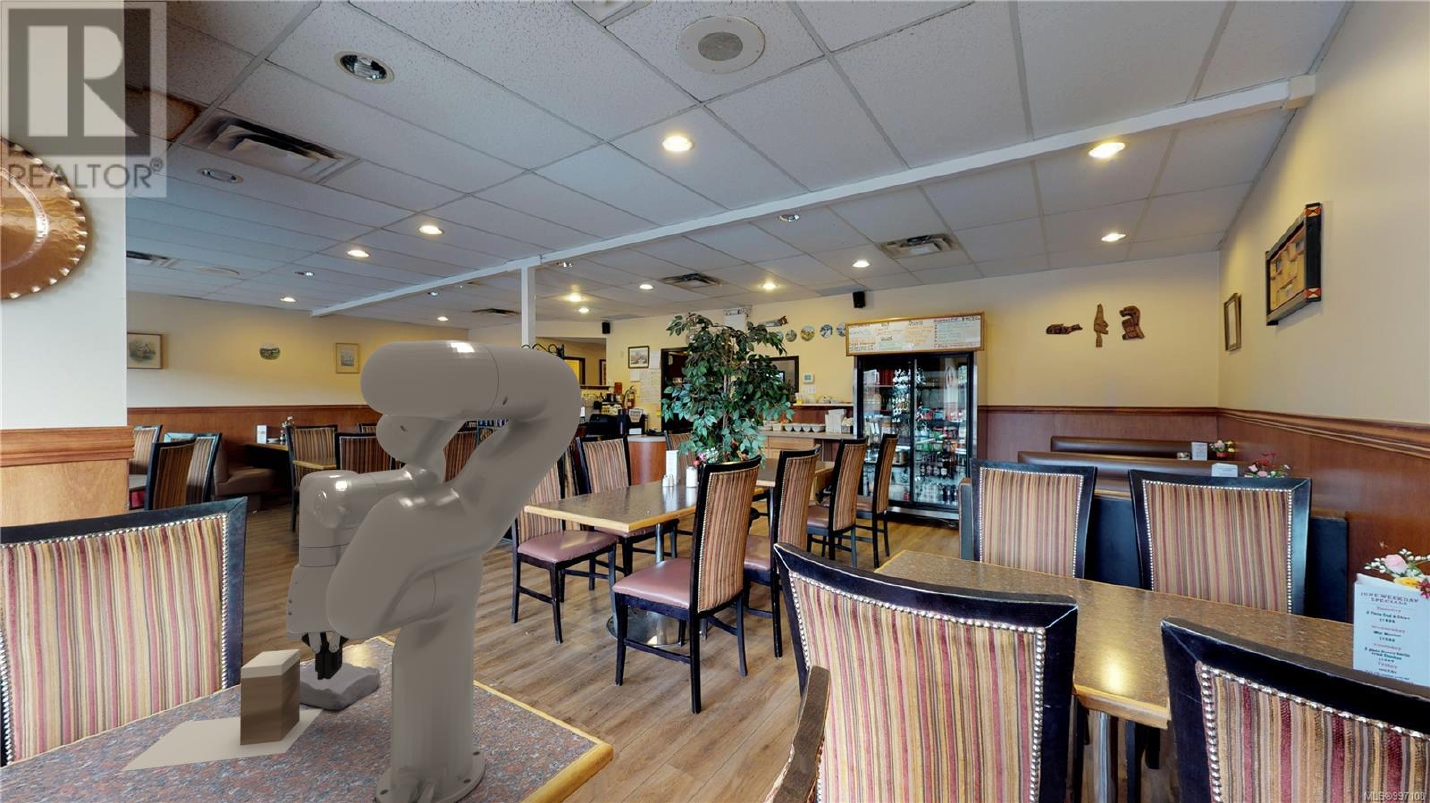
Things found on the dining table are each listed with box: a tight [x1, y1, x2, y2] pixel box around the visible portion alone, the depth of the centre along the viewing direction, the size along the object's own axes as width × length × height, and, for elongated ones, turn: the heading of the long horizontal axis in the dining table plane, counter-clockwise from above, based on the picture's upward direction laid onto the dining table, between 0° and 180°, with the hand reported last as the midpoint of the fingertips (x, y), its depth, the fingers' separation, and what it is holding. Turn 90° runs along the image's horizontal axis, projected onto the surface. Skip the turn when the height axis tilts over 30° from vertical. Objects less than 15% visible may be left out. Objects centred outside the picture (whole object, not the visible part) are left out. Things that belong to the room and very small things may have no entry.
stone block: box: [300, 661, 381, 711], centre depth 90 cm, size 12×5×10 cm
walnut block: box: [239, 648, 301, 745], centre depth 79 cm, size 5×5×11 cm
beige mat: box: [118, 708, 325, 773], centre depth 78 cm, size 11×19×1 cm, turn 102°
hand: (328, 674), depth 81 cm, fingers closed
